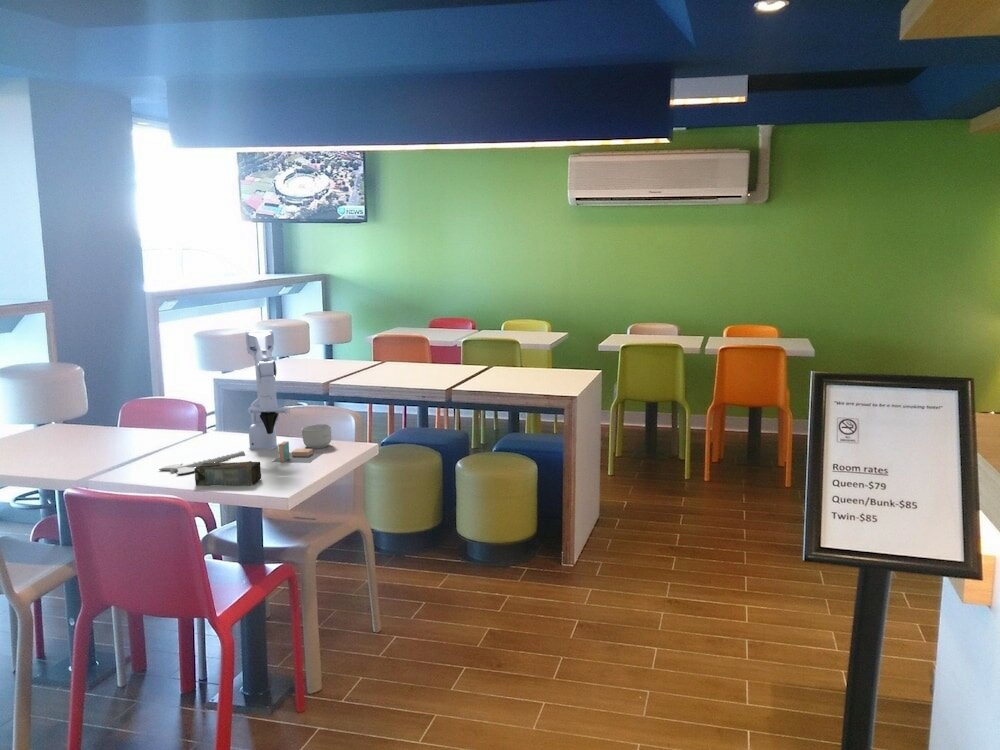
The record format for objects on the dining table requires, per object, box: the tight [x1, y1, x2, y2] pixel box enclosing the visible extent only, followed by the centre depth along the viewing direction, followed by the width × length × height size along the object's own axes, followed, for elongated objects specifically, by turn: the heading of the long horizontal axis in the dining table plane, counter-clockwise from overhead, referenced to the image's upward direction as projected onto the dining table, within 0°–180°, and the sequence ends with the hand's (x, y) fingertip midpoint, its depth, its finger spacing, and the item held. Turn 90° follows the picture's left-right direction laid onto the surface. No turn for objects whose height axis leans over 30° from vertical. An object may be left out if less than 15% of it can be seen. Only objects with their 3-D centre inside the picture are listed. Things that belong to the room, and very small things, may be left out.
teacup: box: [300, 423, 332, 449], centre depth 319 cm, size 14×11×8 cm
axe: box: [158, 450, 245, 475], centre depth 296 cm, size 30×14×2 cm, turn 142°
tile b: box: [278, 440, 290, 463], centre depth 298 cm, size 2×5×6 cm, turn 172°
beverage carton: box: [194, 460, 262, 487], centre depth 271 cm, size 8×19×7 cm, turn 87°
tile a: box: [291, 448, 314, 457], centre depth 304 cm, size 2×5×6 cm
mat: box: [271, 452, 324, 464], centre depth 301 cm, size 14×14×1 cm
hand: (270, 433), depth 299 cm, fingers closed
